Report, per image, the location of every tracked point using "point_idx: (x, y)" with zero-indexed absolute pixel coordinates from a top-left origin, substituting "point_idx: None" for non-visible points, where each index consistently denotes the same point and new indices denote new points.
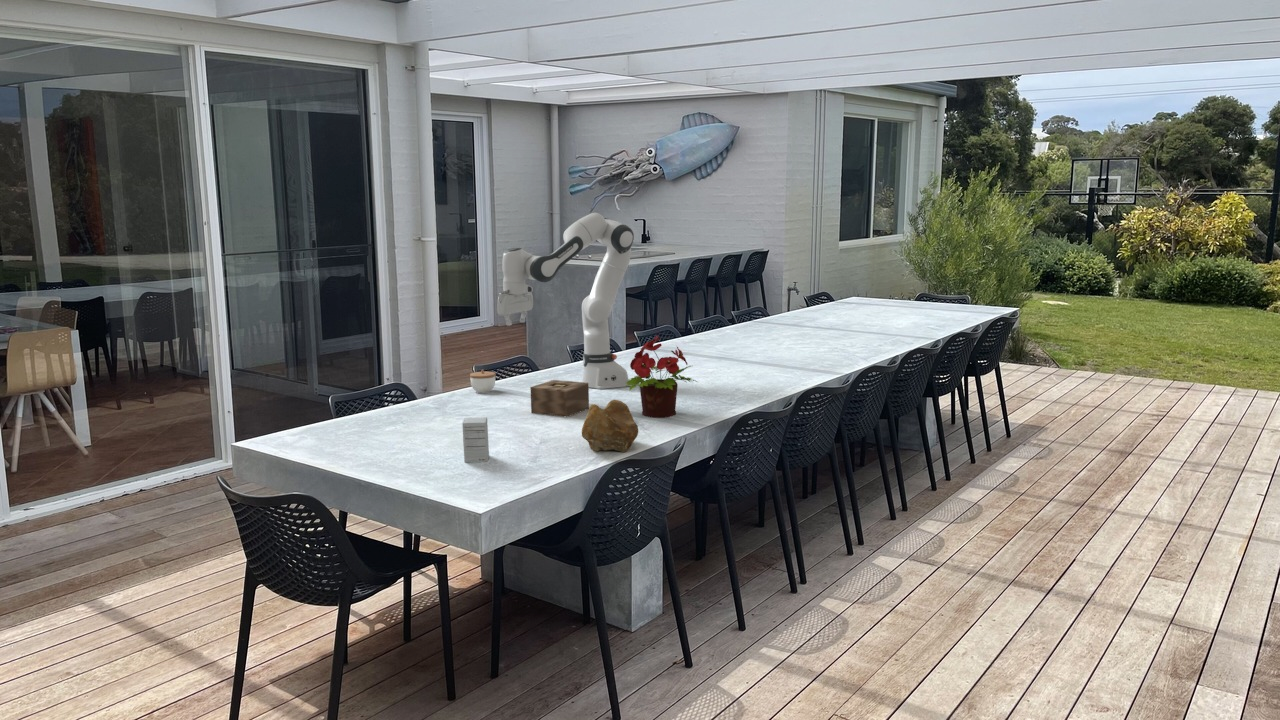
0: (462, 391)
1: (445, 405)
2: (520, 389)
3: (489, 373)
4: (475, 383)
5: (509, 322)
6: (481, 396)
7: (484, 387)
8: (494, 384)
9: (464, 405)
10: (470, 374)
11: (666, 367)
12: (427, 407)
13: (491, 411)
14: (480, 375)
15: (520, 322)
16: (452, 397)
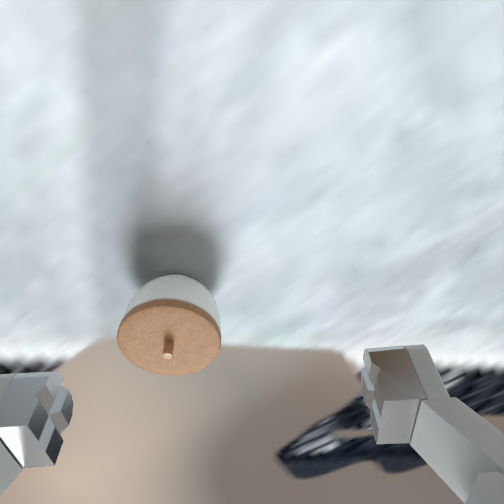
0: None
1: (424, 257)
2: (59, 213)
3: (155, 325)
4: (219, 317)
5: (438, 380)
6: (246, 252)
7: (201, 286)
8: (150, 282)
9: (406, 205)
10: (208, 364)
11: None
12: (468, 282)
13: (491, 25)
14: (206, 328)
15: (71, 396)
16: (304, 313)
